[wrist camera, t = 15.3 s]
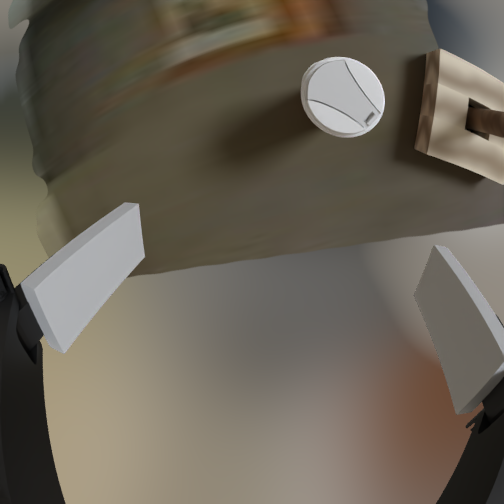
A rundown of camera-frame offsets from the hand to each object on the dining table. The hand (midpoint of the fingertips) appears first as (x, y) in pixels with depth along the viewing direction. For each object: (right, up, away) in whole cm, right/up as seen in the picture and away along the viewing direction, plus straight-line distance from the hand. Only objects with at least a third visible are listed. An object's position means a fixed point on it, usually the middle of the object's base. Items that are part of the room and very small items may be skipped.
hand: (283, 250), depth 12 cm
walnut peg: (+32, +21, +19) cm, 42 cm away
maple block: (+31, +21, +19) cm, 42 cm away
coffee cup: (+10, +21, +23) cm, 33 cm away
